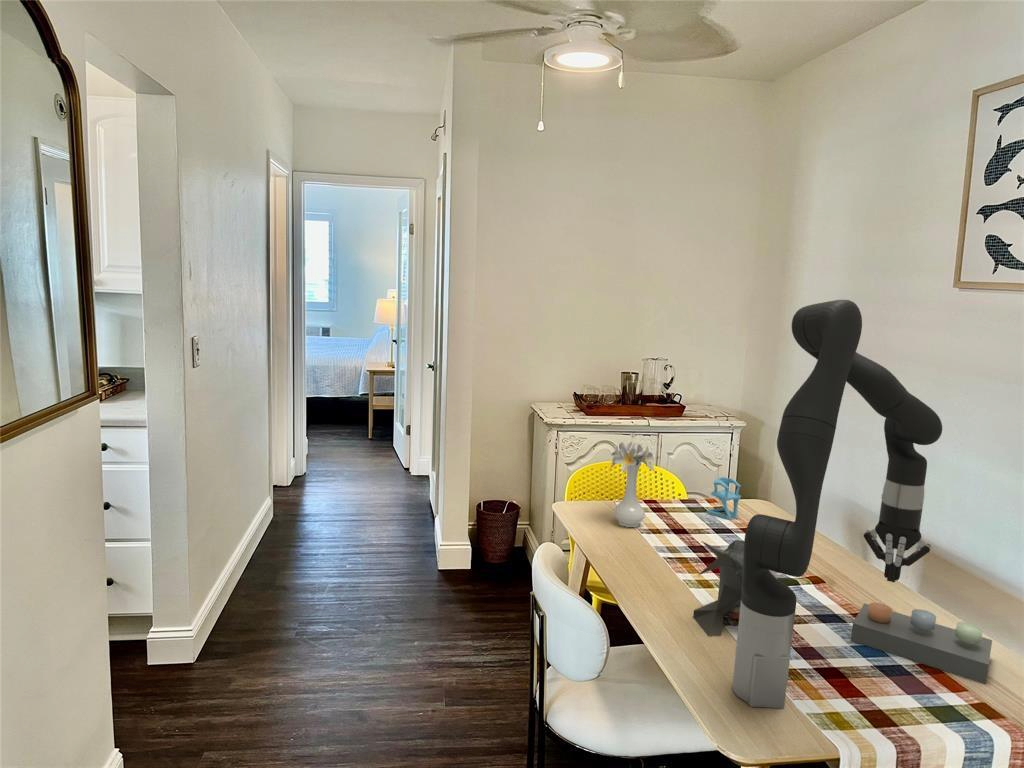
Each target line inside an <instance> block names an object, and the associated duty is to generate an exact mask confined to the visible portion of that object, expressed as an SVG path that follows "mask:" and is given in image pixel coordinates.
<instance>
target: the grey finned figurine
mask: <svg viewBox="0 0 1024 768" xmlns="http://www.w3.org/2000/svg"><path fill="white" fill-rule="evenodd" d="M701 543H702V544H703V545H704V546H706V548H707V549H708V550H709V551H711V552H712V554H714V556H716V559H715V560H714V561H712V562H711V563H710V564H709V565H708V566H706V568H704V569H702V571H701V572H700V573H698V574H697V576H700V575H702V574H705V573H707V572H710V571H713V570H716V569H718V568H719V583H718V584H719V585H718V593H717V600H714V601H712V602H709V603H708V604H705V605H703V606H700V607H697V608H696V609H694V610H693V616H692V617H693V619H694V620H695V621H696V622H697V624H698V625H699V626H700V628H701V629H702V630H703V632H704V633H705V634H706V636H708V637H721V636H722V630H723V623H724V618H729V619H735V620H739V614H740V606H741V596H742V576H743V557H744V540H741V539H740V540H739V539H736V540H735V539H734V540H733V541H732V542H731V543H730V544H729V545H728V547H727V548H725V549H724V550H721V549H719V548H717V547H714V546H713V545H710V544H709V543H707V542H705V541H703V540H701Z"/></svg>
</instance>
